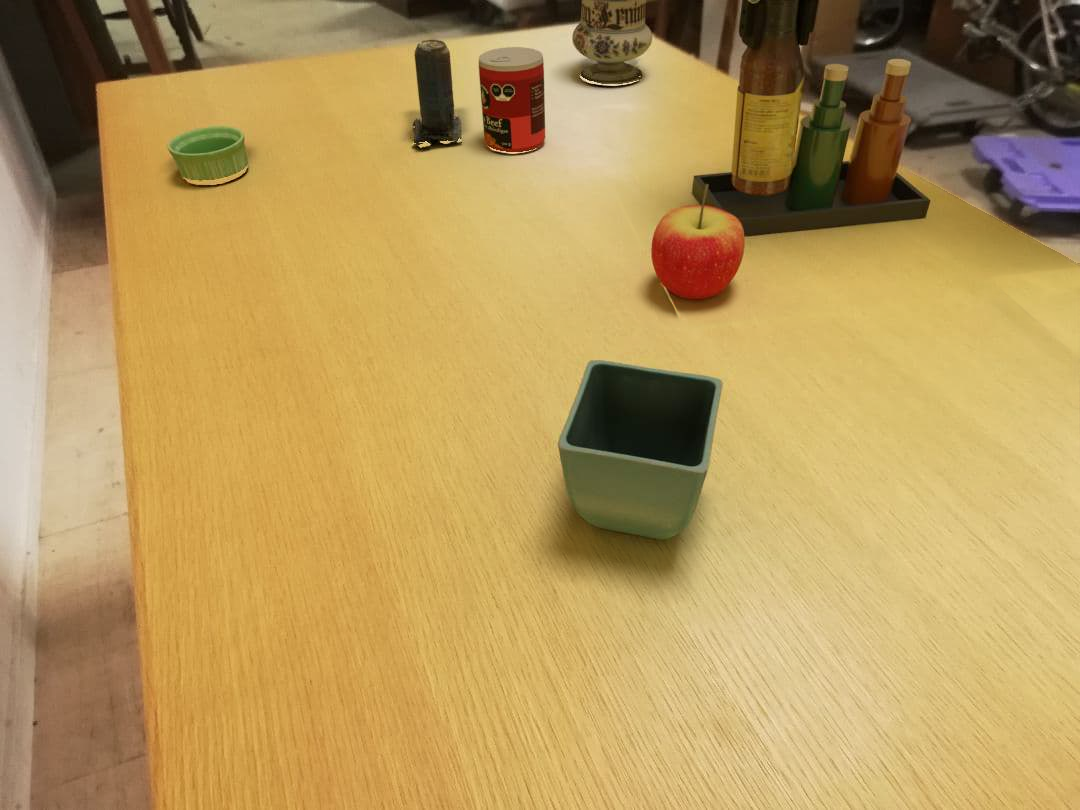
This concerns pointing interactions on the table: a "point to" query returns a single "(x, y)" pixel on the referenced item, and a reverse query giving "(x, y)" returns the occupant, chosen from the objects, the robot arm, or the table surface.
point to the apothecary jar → (612, 39)
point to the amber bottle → (879, 141)
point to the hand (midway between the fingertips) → (774, 41)
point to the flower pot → (639, 447)
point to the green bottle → (820, 146)
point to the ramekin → (209, 152)
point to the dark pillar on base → (435, 94)
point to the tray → (779, 218)
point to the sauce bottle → (769, 105)
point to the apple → (697, 250)
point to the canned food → (512, 98)
